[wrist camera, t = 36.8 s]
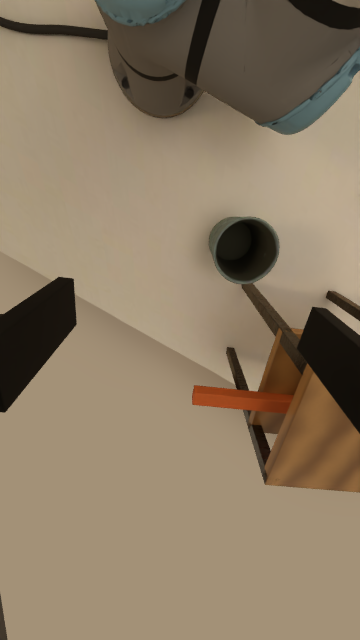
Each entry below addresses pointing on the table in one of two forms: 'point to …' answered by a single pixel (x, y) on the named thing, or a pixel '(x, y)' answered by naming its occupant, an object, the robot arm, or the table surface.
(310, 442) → the side table
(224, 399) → the spatula
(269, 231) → the green cup
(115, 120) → the table surface
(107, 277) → the table surface
